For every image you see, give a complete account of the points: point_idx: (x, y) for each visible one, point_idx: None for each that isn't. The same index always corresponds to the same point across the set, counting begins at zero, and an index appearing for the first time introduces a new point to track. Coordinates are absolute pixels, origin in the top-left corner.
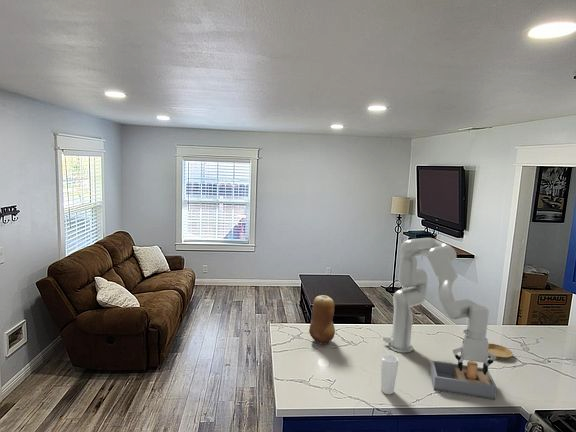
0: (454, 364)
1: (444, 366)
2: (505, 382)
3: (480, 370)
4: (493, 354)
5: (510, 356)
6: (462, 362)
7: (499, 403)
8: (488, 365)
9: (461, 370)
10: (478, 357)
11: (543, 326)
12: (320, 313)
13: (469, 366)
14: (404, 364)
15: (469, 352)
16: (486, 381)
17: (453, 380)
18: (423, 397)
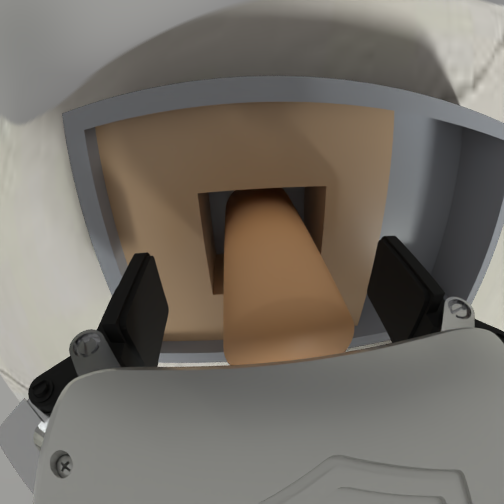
0: (361, 339)
1: None
2: (83, 314)
3: (186, 342)
4: None
5: None
6: (419, 311)
7: (96, 80)
8: (84, 342)
9: (387, 239)
10: (248, 474)
11: None
12: None
13: (335, 286)
14: (481, 292)
15: (498, 482)
16: (141, 206)
17: (446, 102)
18: (494, 53)
